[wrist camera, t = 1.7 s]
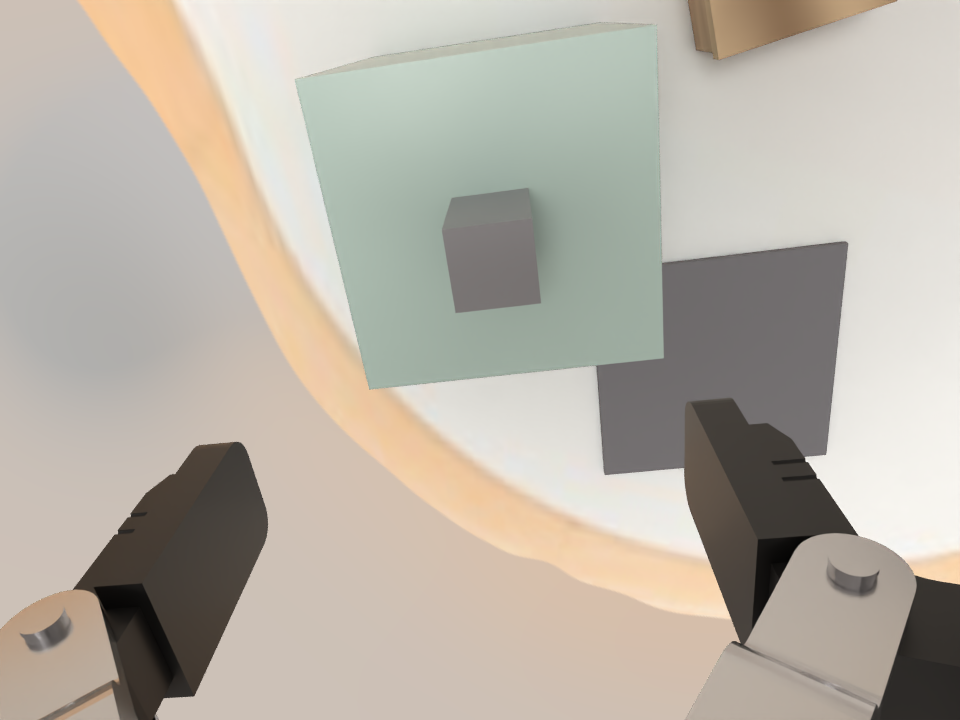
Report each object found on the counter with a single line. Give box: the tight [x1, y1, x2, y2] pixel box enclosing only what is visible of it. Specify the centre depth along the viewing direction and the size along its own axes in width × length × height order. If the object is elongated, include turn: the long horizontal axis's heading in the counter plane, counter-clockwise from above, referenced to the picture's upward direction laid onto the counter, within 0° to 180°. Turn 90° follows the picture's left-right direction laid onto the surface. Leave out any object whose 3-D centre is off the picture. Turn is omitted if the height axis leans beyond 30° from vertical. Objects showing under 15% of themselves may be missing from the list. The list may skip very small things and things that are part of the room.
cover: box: [295, 22, 664, 390], centre depth 32 cm, size 13×13×20 cm
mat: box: [597, 242, 848, 475], centre depth 47 cm, size 16×16×1 cm
